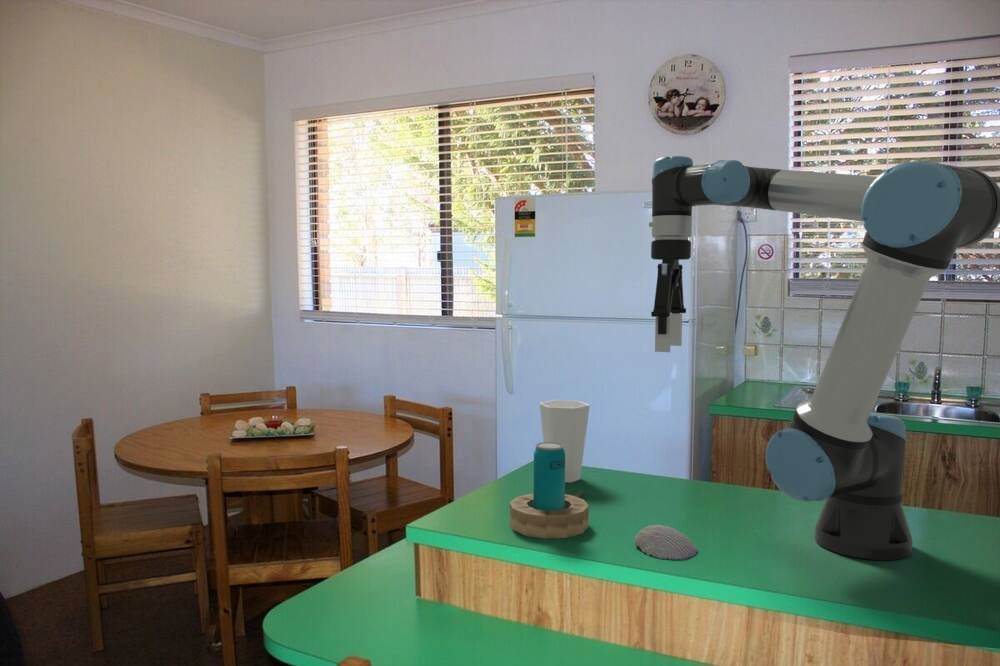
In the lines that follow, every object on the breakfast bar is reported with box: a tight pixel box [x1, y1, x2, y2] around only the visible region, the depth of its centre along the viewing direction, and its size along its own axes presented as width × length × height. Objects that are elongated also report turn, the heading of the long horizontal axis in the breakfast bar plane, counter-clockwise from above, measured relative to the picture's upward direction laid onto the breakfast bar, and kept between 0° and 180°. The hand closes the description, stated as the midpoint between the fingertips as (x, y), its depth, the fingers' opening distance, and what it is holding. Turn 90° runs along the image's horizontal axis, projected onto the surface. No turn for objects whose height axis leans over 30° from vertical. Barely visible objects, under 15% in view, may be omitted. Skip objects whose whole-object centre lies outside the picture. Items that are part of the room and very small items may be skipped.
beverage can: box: [533, 441, 566, 511], centre depth 141 cm, size 6×6×15 cm
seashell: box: [634, 524, 698, 561], centre depth 130 cm, size 10×6×10 cm
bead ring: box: [509, 492, 590, 540], centre depth 142 cm, size 14×14×4 cm
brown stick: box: [573, 491, 583, 499], centre depth 155 cm, size 1×14×1 cm, turn 159°
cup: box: [539, 399, 590, 483], centre depth 173 cm, size 11×10×17 cm
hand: (668, 348), depth 150 cm, fingers open, 13 cm apart
